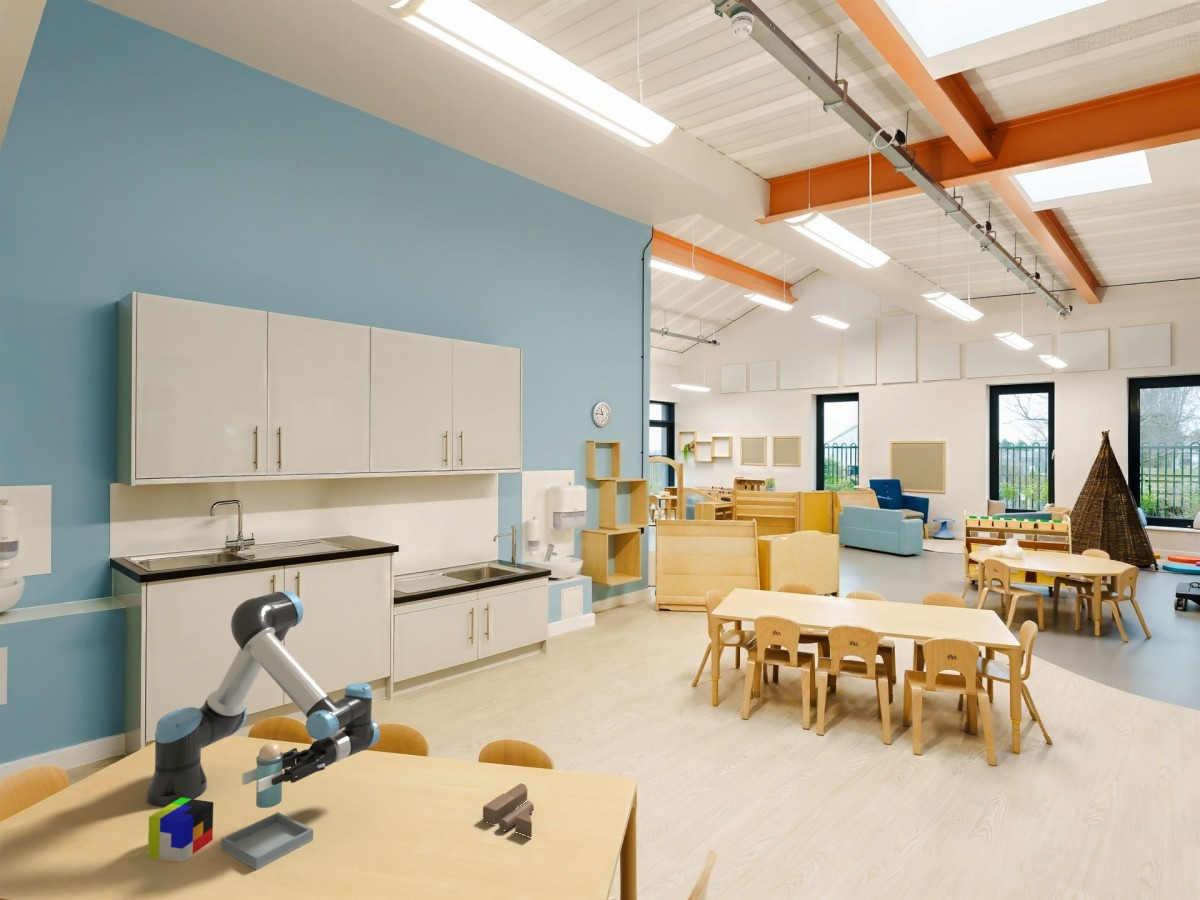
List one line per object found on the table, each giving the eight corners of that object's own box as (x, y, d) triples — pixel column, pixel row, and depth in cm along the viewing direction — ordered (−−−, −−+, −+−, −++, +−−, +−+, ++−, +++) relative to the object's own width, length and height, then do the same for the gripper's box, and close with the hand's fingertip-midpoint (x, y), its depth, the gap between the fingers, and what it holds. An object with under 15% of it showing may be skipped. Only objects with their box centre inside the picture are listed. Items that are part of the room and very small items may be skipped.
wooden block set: (480, 803, 190) (519, 778, 205) (480, 824, 190) (519, 797, 205) (529, 821, 181) (566, 793, 196) (529, 842, 181) (566, 812, 196)
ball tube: (250, 803, 176) (251, 744, 176) (273, 793, 181) (274, 736, 181) (264, 810, 173) (265, 750, 173) (287, 800, 178) (288, 742, 178)
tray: (221, 849, 174) (221, 838, 174) (277, 822, 188) (277, 812, 188) (256, 870, 166) (256, 858, 166) (313, 840, 179) (313, 829, 179)
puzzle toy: (181, 862, 169) (182, 821, 169) (147, 856, 171) (148, 816, 171) (212, 840, 179) (213, 802, 179) (179, 835, 181) (180, 797, 181)
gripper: (351, 772, 187) (272, 808, 168) (308, 755, 197) (229, 787, 178) (351, 744, 187) (273, 777, 168) (308, 729, 197) (229, 758, 178)
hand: (250, 782), depth 173 cm, fingers closed on ball tube, 6 cm apart
